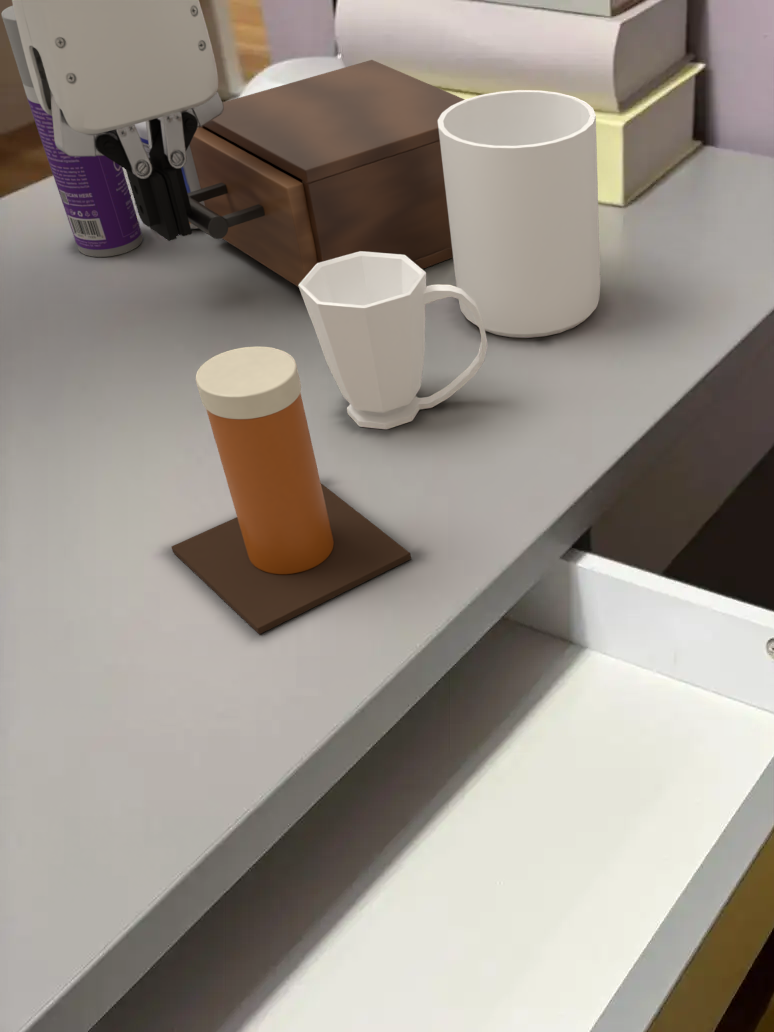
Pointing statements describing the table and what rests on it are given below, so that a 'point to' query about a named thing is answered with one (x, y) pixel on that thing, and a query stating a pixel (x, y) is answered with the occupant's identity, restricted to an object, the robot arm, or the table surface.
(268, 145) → the cabinet
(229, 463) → the spice jar
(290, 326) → the table surface
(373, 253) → the cup
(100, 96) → the robot arm
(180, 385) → the table surface
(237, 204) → the drawer
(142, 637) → the table surface
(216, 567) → the coaster
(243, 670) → the table surface
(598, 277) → the mug
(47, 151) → the container
